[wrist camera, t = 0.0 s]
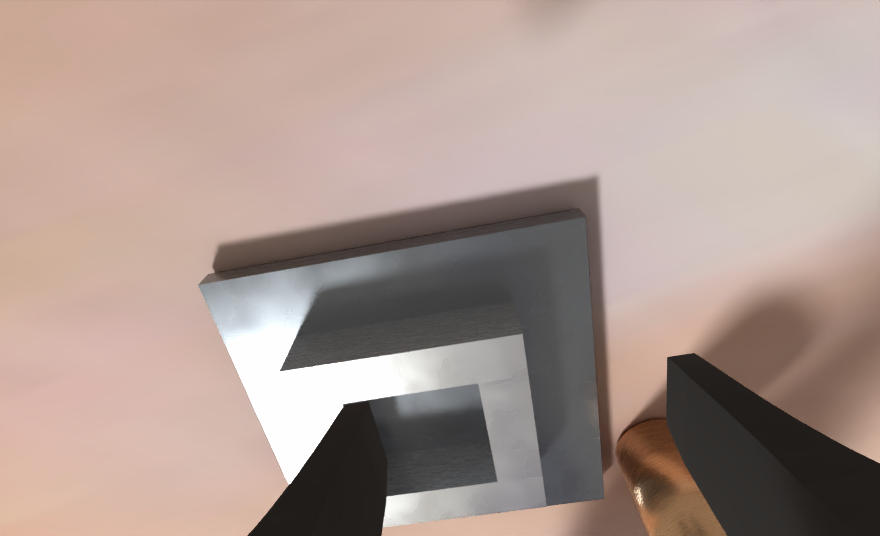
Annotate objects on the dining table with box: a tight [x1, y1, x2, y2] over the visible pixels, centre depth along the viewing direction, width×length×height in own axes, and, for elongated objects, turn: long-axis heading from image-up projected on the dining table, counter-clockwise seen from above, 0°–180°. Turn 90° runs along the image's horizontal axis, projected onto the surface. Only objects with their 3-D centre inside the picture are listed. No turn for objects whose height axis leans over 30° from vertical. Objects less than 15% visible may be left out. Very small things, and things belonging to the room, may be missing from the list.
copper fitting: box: [616, 419, 727, 536], centre depth 23 cm, size 4×4×7 cm
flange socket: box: [198, 209, 604, 527], centre depth 23 cm, size 16×16×4 cm
